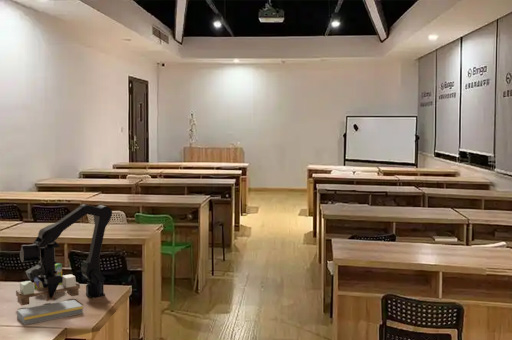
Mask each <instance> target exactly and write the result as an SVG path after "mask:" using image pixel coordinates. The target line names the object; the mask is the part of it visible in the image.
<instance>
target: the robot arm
mask: <svg viewBox="0 0 512 340" xmlns="http://www.w3.org/2000/svg"><path fill="white" fill-rule="evenodd" d="M86 215H90V216H93V222H94V227H93V231H92V232H93V233H92V237H91V242H90V246H89V247H90V248H89V252H88V256H87V258H86V260H81V261H82V262H81V268H80V270H81V274H82V276H83V277H84V278H85V279H86V280H87V281H86V285H85V295H86V296H87V295H88V297H89V298H91V299H92V298H97V297H102V296H106V293H105V292H104V285H105V284H104V283H105V280H106V277H105V276H104V275H103V274H102V273H101V265H100V256H101V251H102V245H103V241H104V236H105V233H106V232H105V231H106V228H107V225H108V224H109V222H110V220H111V218H112V216H113V210H112V208H110V207H109V206H106V205H103V204H100V205H97V206H95V205H88V204H84V203H83V204H80V205H79V206H78V207H76V208H75V209H74V210H72V211H71V212H70V213H68V214H66V215H65V216H64V217H63V218H61V219H60V220H58V221H57V222H55V223H52V224H49V225H47V226H45V227H43V228H41V229H39V231H38V234H37V237H36V238H35V240H34V242H33V243H32V244H22V245H21V248H20V252H19V259H20V261H21V263H27V262H33V261H38V263H37V265H35V266H32V267H31V268H29V269H27V270H25V275H27V279H29V281H34V278H36V277H37V278H38V279H39V280H40V281H41V283H42V286H43V288H45V287H48V292H49V297H50V298H52V297H53V295H54V293H55V291H56V289H57V287H58V285H59V283H61V282H63V277H61V276H60V275H59V274H56V273H57V271H56V270H55V264H57V262H58V261H57V260H56V248H60V247H61V245H60V244H59V243H57V241H56V240H57V239H58V238H59V237H60V236H61V234H62V233H63V232H64V231H65V230H66V229H68V228H70V226H72V225H74V223H76V222H78V221H79V220H81V219H82V218H83V217H84V216H86ZM38 259H40V260H38ZM38 276H39V277H38Z"/></svg>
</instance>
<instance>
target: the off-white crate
mask: <svg viewBox="0 0 512 340" xmlns="http://www.w3.org/2000/svg"><path fill="white" fill-rule="evenodd" d="M62 277H63V282H62V285H63V286H65V287H66V288H67V287H73V286H76V282H77V281H76V280H77V279H76V276H75V275H73V274H72V273H71V274H65V275H64V274H62Z"/></svg>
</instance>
